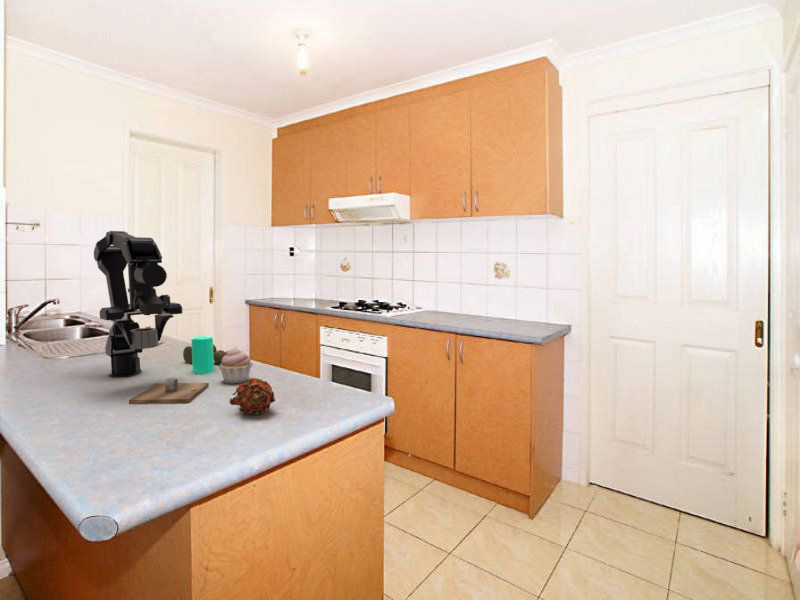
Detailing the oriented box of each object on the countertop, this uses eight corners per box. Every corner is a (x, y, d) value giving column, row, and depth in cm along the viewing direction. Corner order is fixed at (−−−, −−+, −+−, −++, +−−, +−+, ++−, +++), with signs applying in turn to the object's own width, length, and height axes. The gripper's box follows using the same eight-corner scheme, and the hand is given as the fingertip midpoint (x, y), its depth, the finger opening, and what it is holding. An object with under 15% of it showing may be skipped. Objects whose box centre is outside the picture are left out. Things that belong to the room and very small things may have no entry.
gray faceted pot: (125, 349, 121) (124, 330, 120) (138, 343, 127) (137, 326, 127) (151, 348, 121) (150, 330, 121) (162, 343, 128) (161, 326, 127)
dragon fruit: (266, 427, 101) (239, 421, 109) (291, 397, 106) (263, 393, 114) (242, 401, 97) (216, 397, 105) (268, 371, 102) (241, 369, 110)
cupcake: (260, 380, 131) (259, 346, 130) (230, 387, 124) (229, 351, 123) (242, 374, 137) (241, 341, 136) (212, 381, 130) (211, 346, 129)
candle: (206, 374, 137) (204, 335, 136) (188, 373, 139) (186, 334, 137) (218, 369, 143) (216, 331, 142) (200, 368, 144) (199, 330, 143)
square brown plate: (128, 403, 111) (128, 387, 110) (155, 387, 125) (155, 372, 124) (188, 403, 112) (188, 386, 111) (208, 386, 125) (208, 371, 125)
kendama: (217, 370, 144) (175, 361, 153) (241, 365, 153) (199, 356, 162) (218, 352, 144) (175, 344, 153) (241, 347, 152) (199, 340, 161)
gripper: (112, 288, 110) (115, 352, 112) (190, 284, 124) (192, 341, 126) (97, 286, 117) (101, 346, 119) (172, 282, 131) (175, 336, 133)
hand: (144, 342), depth 124 cm, fingers closed on gray faceted pot, 7 cm apart
